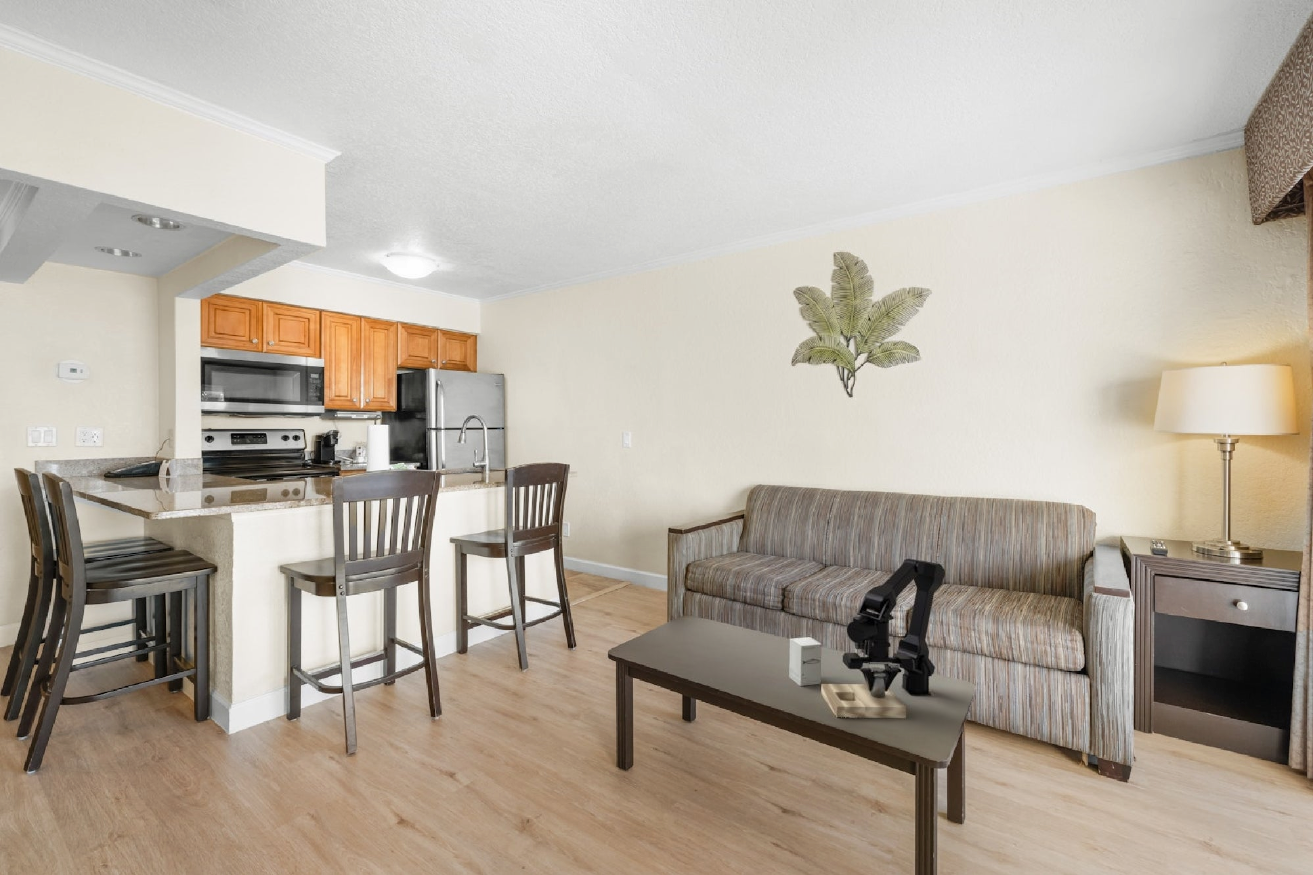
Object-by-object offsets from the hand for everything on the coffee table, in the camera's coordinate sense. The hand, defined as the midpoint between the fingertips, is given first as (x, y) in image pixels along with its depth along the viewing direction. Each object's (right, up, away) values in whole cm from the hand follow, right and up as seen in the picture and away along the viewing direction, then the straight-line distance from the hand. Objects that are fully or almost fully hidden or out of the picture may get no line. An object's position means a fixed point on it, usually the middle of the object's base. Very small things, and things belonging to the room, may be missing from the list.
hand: (877, 690), depth 170 cm
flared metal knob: (0, -1, 0) cm, 1 cm away
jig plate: (-5, -4, 0) cm, 6 cm away
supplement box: (-17, -4, +17) cm, 24 cm away
